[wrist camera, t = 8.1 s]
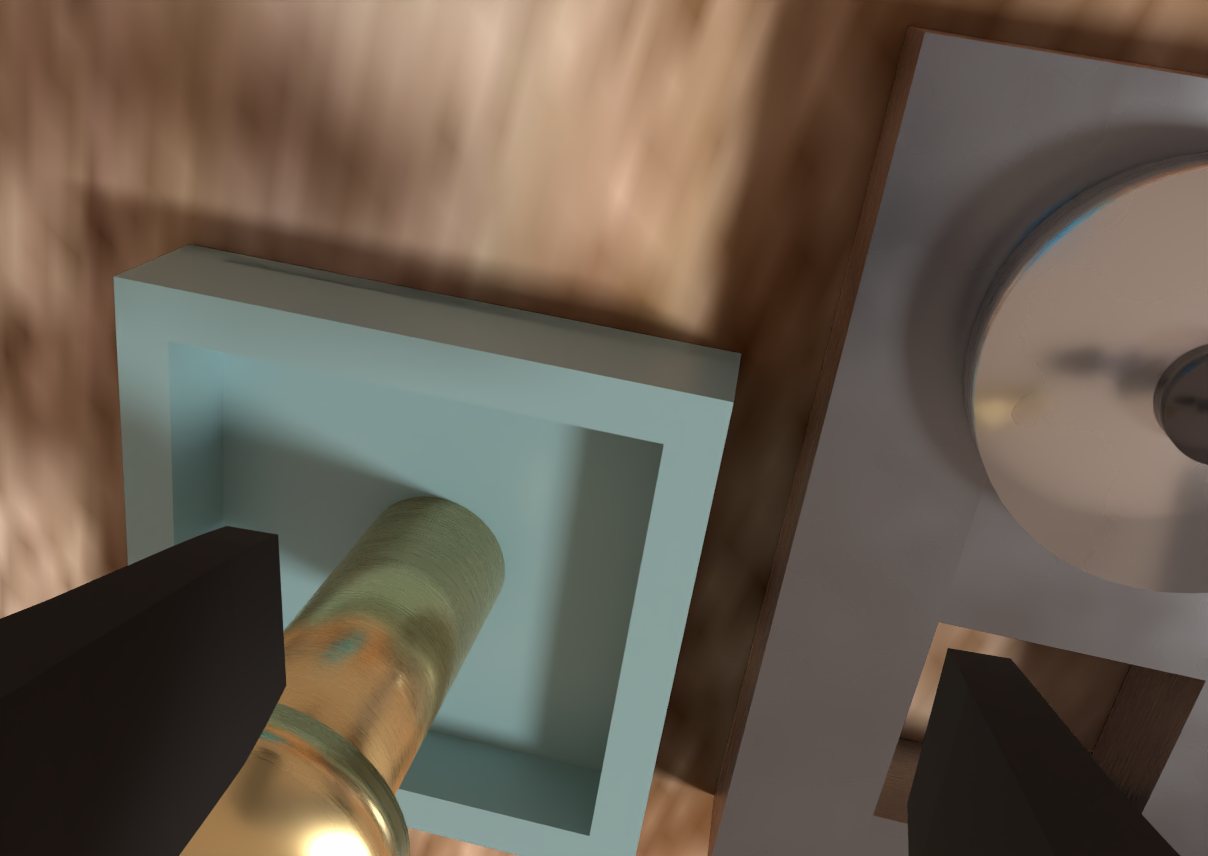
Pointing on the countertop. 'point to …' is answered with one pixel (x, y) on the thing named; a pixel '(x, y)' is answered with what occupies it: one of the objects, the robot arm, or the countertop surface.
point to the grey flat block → (996, 443)
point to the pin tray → (459, 474)
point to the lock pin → (362, 689)
